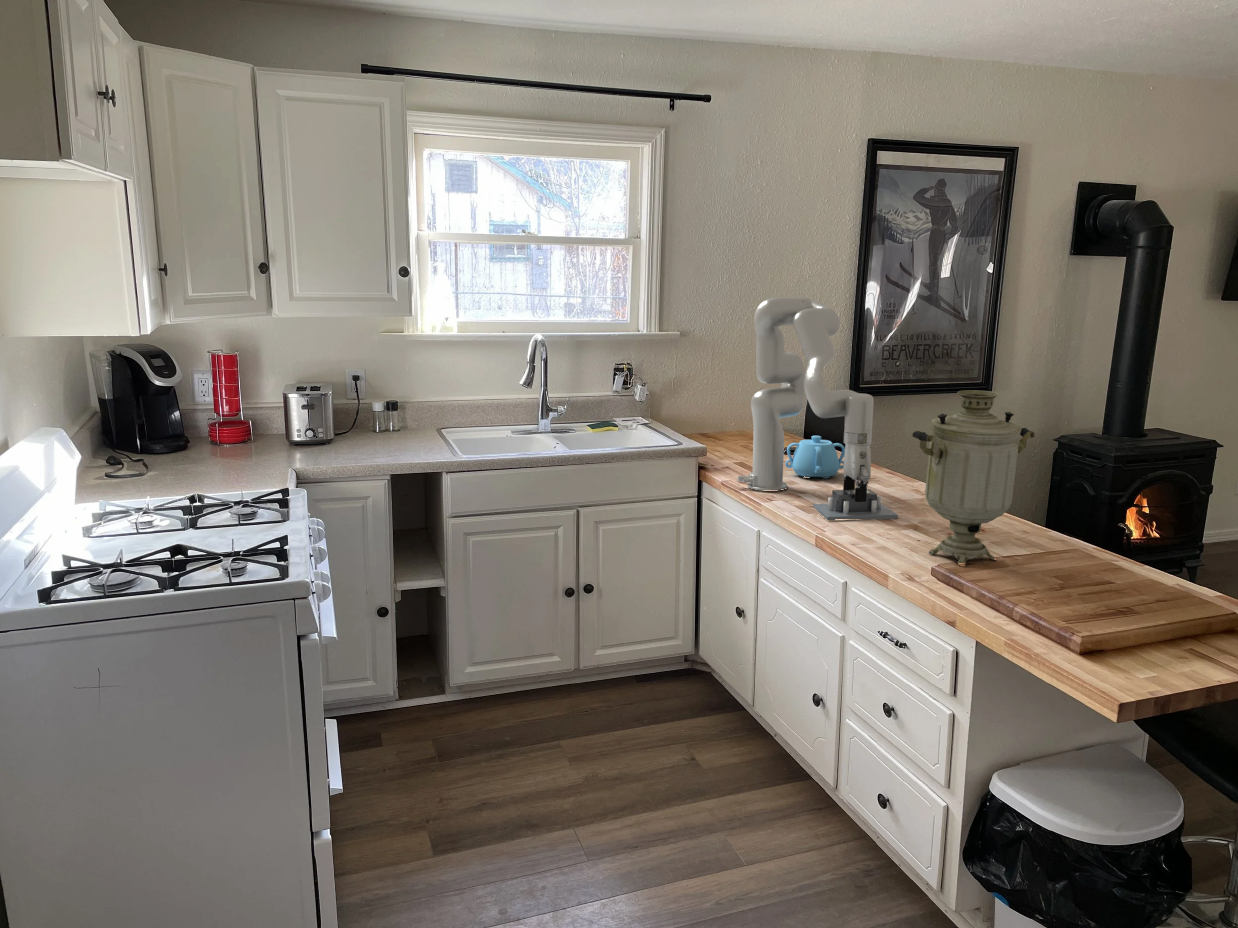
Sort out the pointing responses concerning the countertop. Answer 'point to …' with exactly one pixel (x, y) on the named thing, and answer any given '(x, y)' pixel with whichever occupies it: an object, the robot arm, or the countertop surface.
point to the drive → (852, 500)
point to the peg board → (876, 512)
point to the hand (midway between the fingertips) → (854, 497)
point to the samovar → (971, 470)
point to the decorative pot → (815, 458)
